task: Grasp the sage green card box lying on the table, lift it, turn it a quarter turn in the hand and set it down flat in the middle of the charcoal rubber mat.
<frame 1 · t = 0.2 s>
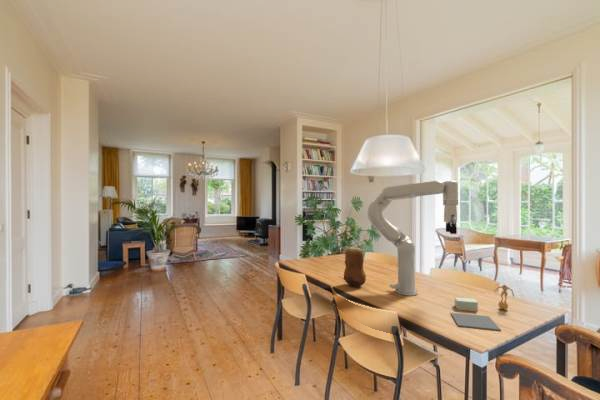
hand: (451, 232, 159), 36 cm above the table, tool pointing down, fingers open, 9 cm apart
figurine: (504, 309, 141), on the table
card box: (465, 308, 142), on the table
brown tall rounded piece: (354, 286, 181), on the table
mat: (474, 321, 126), on the table
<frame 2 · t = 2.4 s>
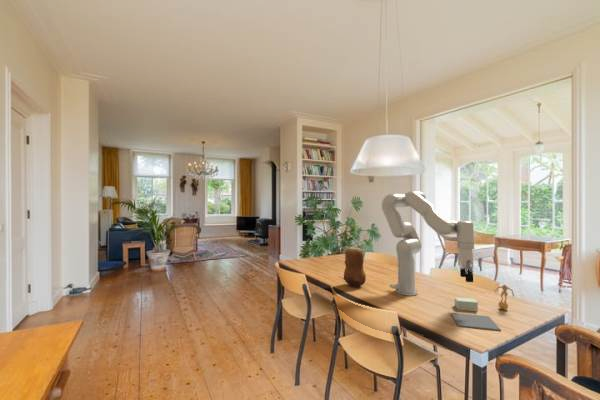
hand: (466, 279, 142), 15 cm above the table, tool pointing down, fingers open, 9 cm apart
nothing on the table moved.
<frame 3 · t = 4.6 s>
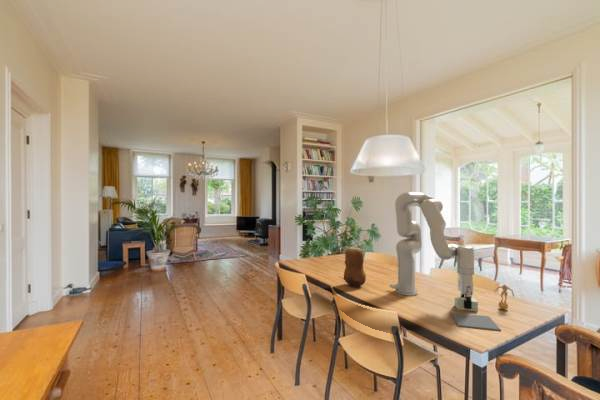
hand: (466, 305, 142), 1 cm above the table, tool pointing down, fingers closed on card box, 5 cm apart
card box: (466, 308, 142), on the table, touching gripper
everything else where it was.
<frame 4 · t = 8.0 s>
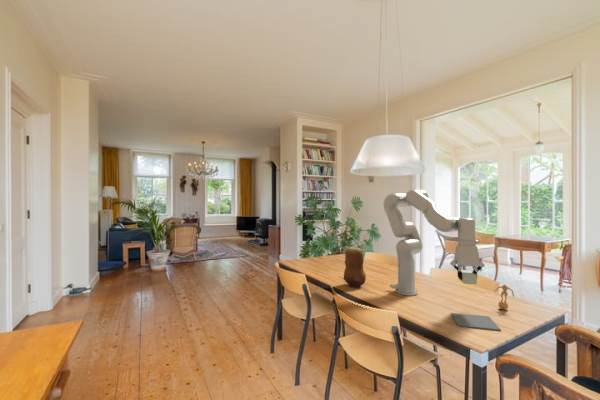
hand: (467, 279, 139), 16 cm above the table, tool pointing down, fingers closed on card box, 5 cm apart
card box: (467, 281, 139), point 14 cm above the table, touching gripper
everything else where it was.
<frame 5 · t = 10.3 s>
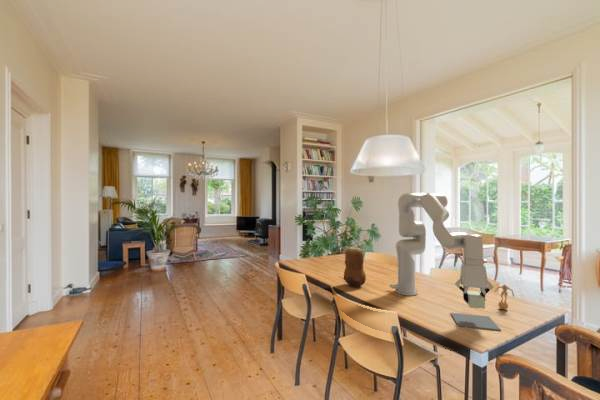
hand: (474, 301, 126), 9 cm above the table, tool pointing down, fingers closed on card box, 5 cm apart
card box: (474, 304, 126), point 8 cm above the table, touching gripper
everything else where it was.
when the fingers open (3 cm above the table, at t = 11.8 s): card box drops 1 cm, resting on mat.
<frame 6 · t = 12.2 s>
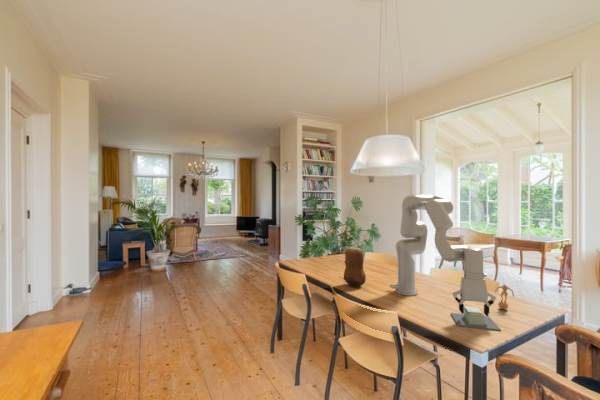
hand: (473, 313, 126), 4 cm above the table, tool pointing down, fingers open, 9 cm apart
card box: (473, 320, 126), point 1 cm above the table, touching mat
everything else where it was.
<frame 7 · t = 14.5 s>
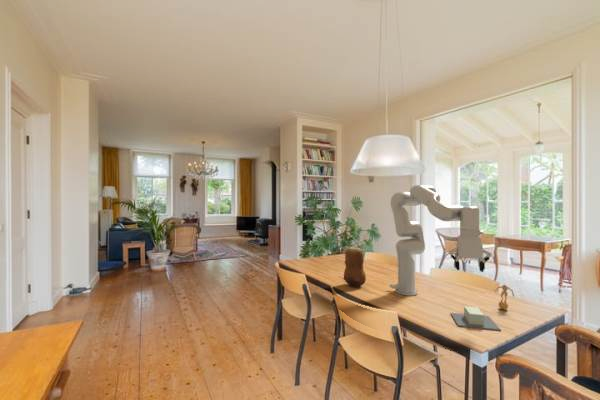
hand: (469, 270, 129), 22 cm above the table, tool pointing down, fingers open, 9 cm apart
nothing on the table moved.
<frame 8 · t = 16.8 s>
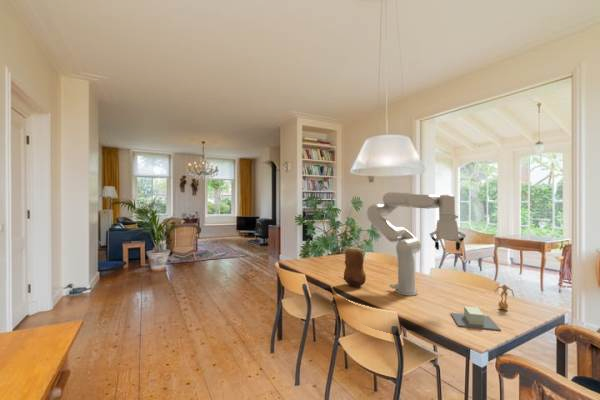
hand: (447, 249, 150), 28 cm above the table, tool pointing down, fingers open, 9 cm apart
nothing on the table moved.
at the end: card box inside the target area on the mat (0.1 cm from its centre), point 0.6 cm above the mat's base; card box tilted 0°; the gripper is holding nothing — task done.
